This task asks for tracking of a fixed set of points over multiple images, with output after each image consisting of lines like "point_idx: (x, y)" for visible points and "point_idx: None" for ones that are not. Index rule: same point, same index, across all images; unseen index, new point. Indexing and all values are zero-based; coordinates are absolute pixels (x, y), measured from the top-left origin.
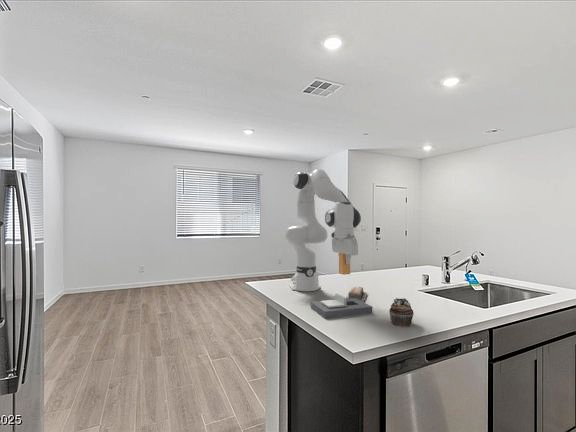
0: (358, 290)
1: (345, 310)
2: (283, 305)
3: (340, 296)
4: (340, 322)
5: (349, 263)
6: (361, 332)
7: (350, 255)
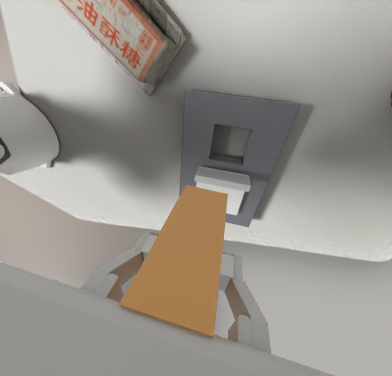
0: (114, 5)
1: (264, 187)
2: (153, 227)
3: (226, 187)
4: (283, 209)
5: (241, 258)
6: (353, 213)
7: (266, 341)
